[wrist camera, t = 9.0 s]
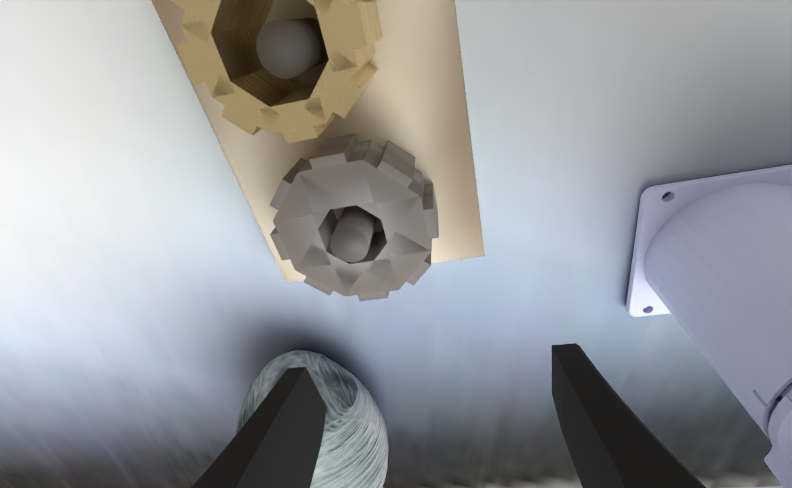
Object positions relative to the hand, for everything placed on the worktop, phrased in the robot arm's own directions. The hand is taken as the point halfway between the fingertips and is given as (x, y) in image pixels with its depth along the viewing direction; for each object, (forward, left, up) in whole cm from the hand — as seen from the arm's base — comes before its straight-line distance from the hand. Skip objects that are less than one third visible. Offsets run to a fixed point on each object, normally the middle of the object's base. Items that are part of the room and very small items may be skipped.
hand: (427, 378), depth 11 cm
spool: (+10, +14, -10) cm, 20 cm away
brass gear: (+3, -9, -9) cm, 13 cm away
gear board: (+3, -5, -10) cm, 11 cm away
